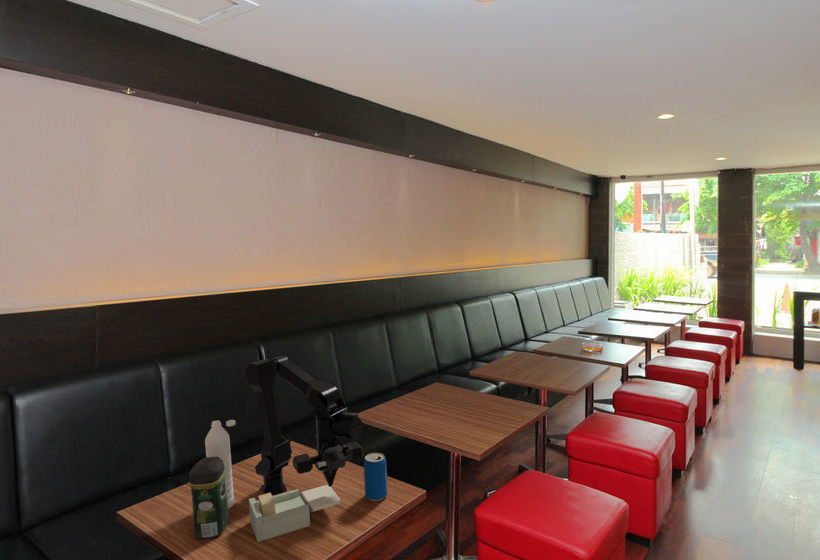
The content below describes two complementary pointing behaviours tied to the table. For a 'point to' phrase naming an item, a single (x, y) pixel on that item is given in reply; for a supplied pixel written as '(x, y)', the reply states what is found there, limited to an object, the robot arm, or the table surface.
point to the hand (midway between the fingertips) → (330, 486)
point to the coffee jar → (209, 497)
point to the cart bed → (279, 516)
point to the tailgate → (320, 498)
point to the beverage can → (375, 476)
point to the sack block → (266, 505)
